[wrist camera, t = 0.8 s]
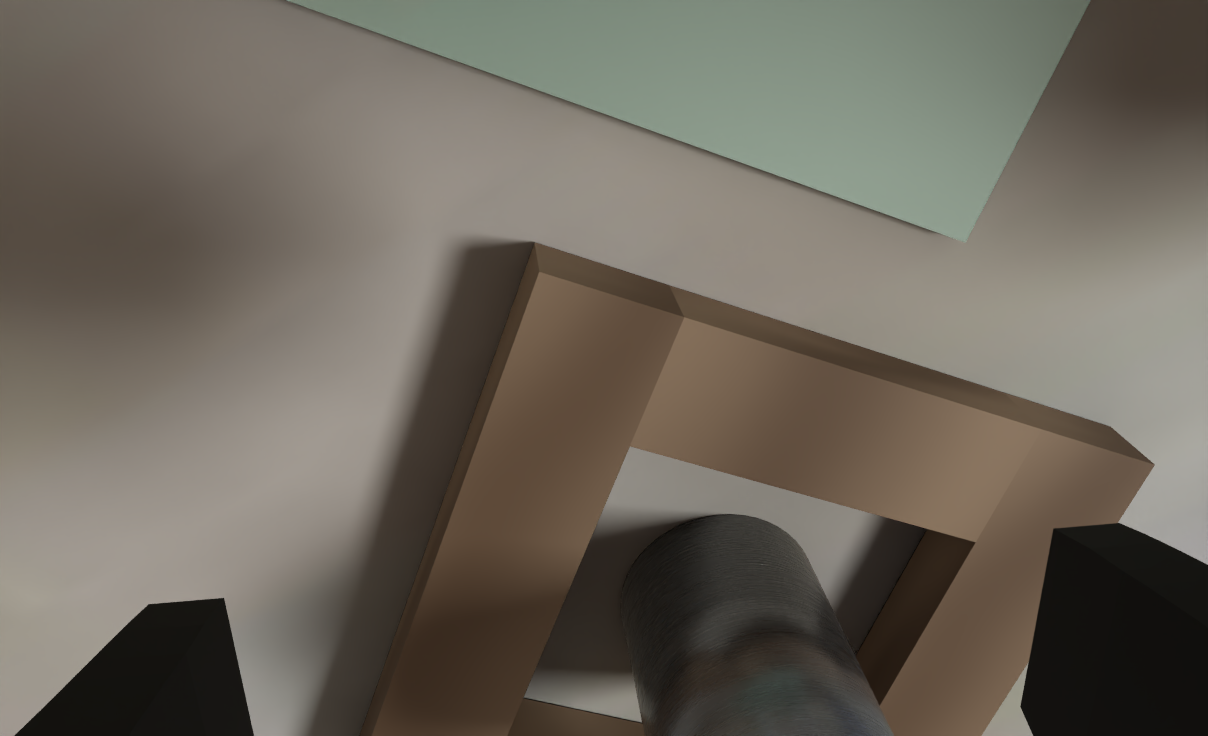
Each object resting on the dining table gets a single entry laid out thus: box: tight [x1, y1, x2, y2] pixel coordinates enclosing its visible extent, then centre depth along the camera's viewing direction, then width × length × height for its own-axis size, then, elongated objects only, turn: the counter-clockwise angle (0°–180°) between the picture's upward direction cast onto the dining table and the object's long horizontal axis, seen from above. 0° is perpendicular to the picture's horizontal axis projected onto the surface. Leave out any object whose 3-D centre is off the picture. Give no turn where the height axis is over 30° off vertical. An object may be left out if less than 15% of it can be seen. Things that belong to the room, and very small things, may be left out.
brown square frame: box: [359, 243, 1154, 736], centre depth 21 cm, size 12×12×2 cm
